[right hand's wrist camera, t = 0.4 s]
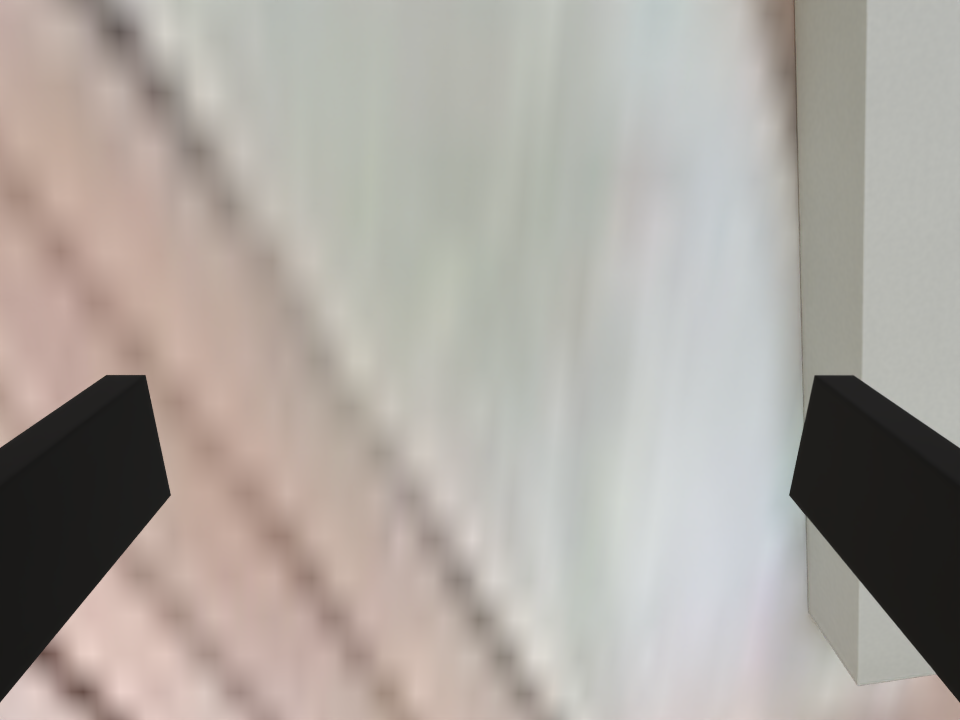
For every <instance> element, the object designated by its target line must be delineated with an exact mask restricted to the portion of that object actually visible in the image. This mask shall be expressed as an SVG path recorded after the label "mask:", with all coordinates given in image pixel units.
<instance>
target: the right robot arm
mask: <svg viewBox="0 0 960 720" xmlns="http://www.w3.org/2000/svg"><path fill="white" fill-rule="evenodd" d="M170 496H171V494H170V489H169V484H168V480H167V475H166V470H165V466H164V461H163V456H162V451H161V447H160V442H159V437H158V432H157V428H156V423H155V418H154V413H153V409H152V404H151V399H150V394H149V390H148V385H147V380H146V375H106V376H105V377H103V378H102V379H100V380H99V381H97V382H96V383H94V384H93V385H91V386H90V387H88V388H87V389H86V390H84V391H83V392H81V393H80V394H78V395H77V396H75V397H74V398H72V399H71V400H69V401H68V402H67V403H65V404H64V405H62V406H61V407H59V408H58V409H56V410H55V411H53V412H52V413H50V414H49V415H48V416H46V417H45V418H43V419H42V420H40V421H39V422H37V423H36V424H34V425H33V426H31V427H30V428H29V429H27V430H26V431H24V432H23V433H21V434H20V435H18V436H17V437H15V438H14V439H12V440H11V441H10V442H8V443H7V444H5V445H4V446H2V447H1V448H0V702H1V701H2V700H3V698H4V697H5V696H6V695H7V694H8V692H9V691H10V690H11V689H12V687H13V686H14V685H15V684H16V683H17V681H18V680H19V679H20V678H21V677H22V675H23V674H24V673H25V672H26V670H27V669H28V668H29V667H30V666H31V664H32V663H33V662H34V661H35V660H36V658H37V657H38V656H39V655H40V653H41V652H42V651H43V650H44V649H45V647H46V646H47V645H48V644H49V642H50V641H51V640H52V639H53V638H54V636H55V635H56V634H57V633H58V632H59V630H60V629H61V628H62V627H63V625H64V624H65V623H66V622H67V621H68V619H69V618H70V617H71V616H72V615H73V613H74V612H75V611H76V610H77V608H78V607H79V606H80V605H81V604H82V602H83V601H84V600H85V599H86V598H87V596H88V595H89V594H90V593H91V591H92V590H93V589H94V588H95V587H96V585H97V584H98V583H99V582H100V581H101V579H102V578H103V577H104V576H105V574H106V573H107V572H108V571H109V570H110V568H111V567H112V566H113V565H114V564H115V562H116V561H117V560H118V559H119V557H120V556H121V555H122V554H123V553H124V551H125V550H126V549H127V548H128V547H129V545H130V544H131V543H132V542H133V540H134V539H135V538H136V537H137V536H138V534H139V533H140V532H141V531H142V530H143V528H144V527H145V526H146V525H147V523H148V522H149V521H150V520H151V519H152V517H153V516H154V515H155V514H156V513H157V511H158V510H159V509H160V508H161V506H162V505H163V504H164V503H165V502H166V500H167V499H168V498H169V497H170ZM789 496H790V497H791V498H792V499H793V500H794V502H795V503H796V504H797V505H798V506H799V508H800V509H801V510H802V511H803V513H804V514H805V515H806V516H807V517H808V519H809V520H810V521H811V522H812V523H813V525H814V526H815V527H816V528H817V530H818V531H819V532H820V533H821V534H822V536H823V537H824V538H825V539H826V540H827V542H828V543H829V544H830V545H831V547H832V548H833V549H834V550H835V551H836V553H837V554H838V555H839V556H840V557H841V559H842V560H843V561H844V562H845V564H846V565H847V566H848V567H849V568H850V570H851V571H852V572H853V573H854V574H855V576H856V577H857V578H858V579H859V581H860V582H861V583H862V584H863V585H864V587H865V588H866V589H867V590H868V591H869V593H870V594H871V595H872V596H873V598H874V599H875V600H876V601H877V602H878V604H879V605H880V606H881V607H882V608H883V610H884V611H885V612H886V613H887V615H888V616H889V617H890V618H891V619H892V621H893V622H894V623H895V624H896V625H897V627H898V628H899V629H900V630H901V632H902V633H903V634H904V635H905V636H906V638H907V639H908V640H909V641H910V642H911V644H912V645H913V646H914V647H915V649H916V650H917V651H918V652H919V653H920V655H921V656H922V657H923V658H924V660H925V661H926V662H927V663H928V664H929V666H930V667H931V668H932V669H933V670H934V672H935V673H936V674H937V675H938V677H939V678H940V679H941V680H942V681H943V683H944V684H945V685H946V686H947V687H948V689H949V690H950V691H951V692H952V694H953V695H954V696H955V697H956V698H957V700H958V701H959V702H960V448H959V447H958V446H956V445H955V444H953V443H952V442H950V441H949V440H948V439H946V438H945V437H943V436H942V435H940V434H939V433H937V432H936V431H934V430H933V429H931V428H930V427H929V426H927V425H926V424H924V423H923V422H921V421H920V420H918V419H917V418H915V417H914V416H912V415H911V414H910V413H908V412H907V411H905V410H904V409H902V408H901V407H899V406H898V405H896V404H895V403H893V402H892V401H891V400H889V399H888V398H886V397H885V396H883V395H882V394H880V393H879V392H877V391H876V390H874V389H873V388H872V387H870V386H869V385H867V384H866V383H864V382H863V381H861V380H860V379H858V378H857V377H855V376H854V375H814V380H813V385H812V390H811V394H810V399H809V404H808V409H807V413H806V418H805V423H804V428H803V432H802V437H801V442H800V447H799V451H798V456H797V461H796V465H795V470H794V475H793V480H792V484H791V489H790V494H789Z"/></svg>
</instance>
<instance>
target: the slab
mask: <svg viewBox="0 0 960 720" xmlns="http://www.w3.org/2000/svg"><path fill="white" fill-rule="evenodd" d="M794 2H795V45H796V89H797V132H798V176H799V219H800V262H801V306H802V349H803V393H804V423H805V418H806V413H807V409H808V404H809V399H810V394H811V390H812V385H813V380H814V375H854V376H855V377H857V378H858V379H860V380H861V381H863V382H864V383H866V384H867V385H869V386H870V387H872V388H873V389H874V390H876V391H877V392H879V393H880V394H882V395H883V396H885V397H886V398H888V399H889V400H891V401H892V402H893V403H895V404H896V405H898V406H899V407H901V408H902V409H904V410H905V411H907V412H908V413H910V414H911V415H912V416H914V417H915V418H917V419H918V420H920V421H921V422H923V423H924V424H926V425H927V426H929V427H930V428H931V429H933V430H934V431H936V432H937V433H939V434H940V435H942V436H943V437H945V438H946V439H948V440H949V441H950V442H952V443H953V444H955V445H956V446H958V447H959V448H960V0H794ZM806 523H807V567H808V610H809V614H810V615H811V617H812V618H813V620H814V621H815V623H816V624H817V626H818V627H819V629H820V630H821V632H822V633H823V635H824V636H825V638H826V639H827V641H828V642H829V644H830V645H831V647H832V648H833V650H834V651H835V653H836V654H837V656H838V657H839V659H840V660H841V662H842V663H843V665H844V666H845V668H846V669H847V671H848V672H849V674H850V675H851V677H852V678H853V680H854V681H855V683H856V684H857V686H861V685H868V684H875V683H881V682H888V681H895V680H902V679H908V678H915V677H922V676H929V675H935V674H936V673H935V672H934V670H933V669H932V668H931V667H930V666H929V664H928V663H927V662H926V661H925V660H924V658H923V657H922V656H921V655H920V653H919V652H918V651H917V650H916V649H915V647H914V646H913V645H912V644H911V642H910V641H909V640H908V639H907V638H906V636H905V635H904V634H903V633H902V632H901V630H900V629H899V628H898V627H897V625H896V624H895V623H894V622H893V621H892V619H891V618H890V617H889V616H888V615H887V613H886V612H885V611H884V610H883V608H882V607H881V606H880V605H879V604H878V602H877V601H876V600H875V599H874V598H873V596H872V595H871V594H870V593H869V591H868V590H867V589H866V588H865V587H864V585H863V584H862V583H861V582H860V581H859V579H858V578H857V577H856V576H855V574H854V573H853V572H852V571H851V570H850V568H849V567H848V566H847V565H846V564H845V562H844V561H843V560H842V559H841V557H840V556H839V555H838V554H837V553H836V551H835V550H834V549H833V548H832V547H831V545H830V544H829V543H828V542H827V540H826V539H825V538H824V537H823V536H822V534H821V533H820V532H819V531H818V530H817V528H816V527H815V526H814V525H813V523H812V522H811V521H810V520H809V519H808V517H807V516H806Z"/></svg>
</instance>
